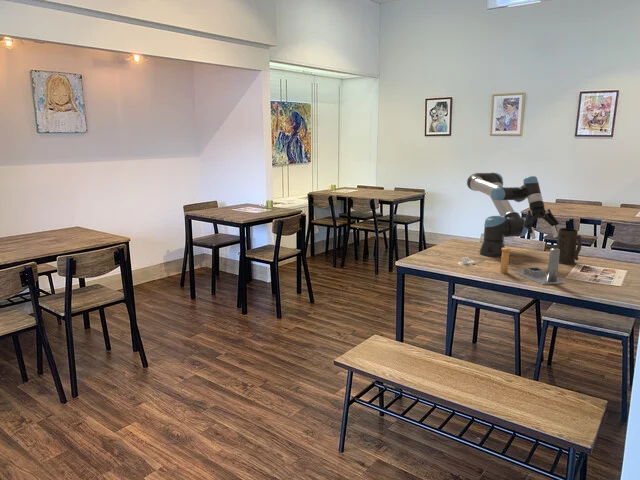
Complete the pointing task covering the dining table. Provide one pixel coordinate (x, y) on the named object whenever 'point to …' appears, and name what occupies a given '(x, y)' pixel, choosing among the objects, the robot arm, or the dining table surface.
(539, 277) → the grey upright stand
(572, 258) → the beer stein
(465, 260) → the teacup and saucer
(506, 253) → the orange cylinder
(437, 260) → the dining table surface
